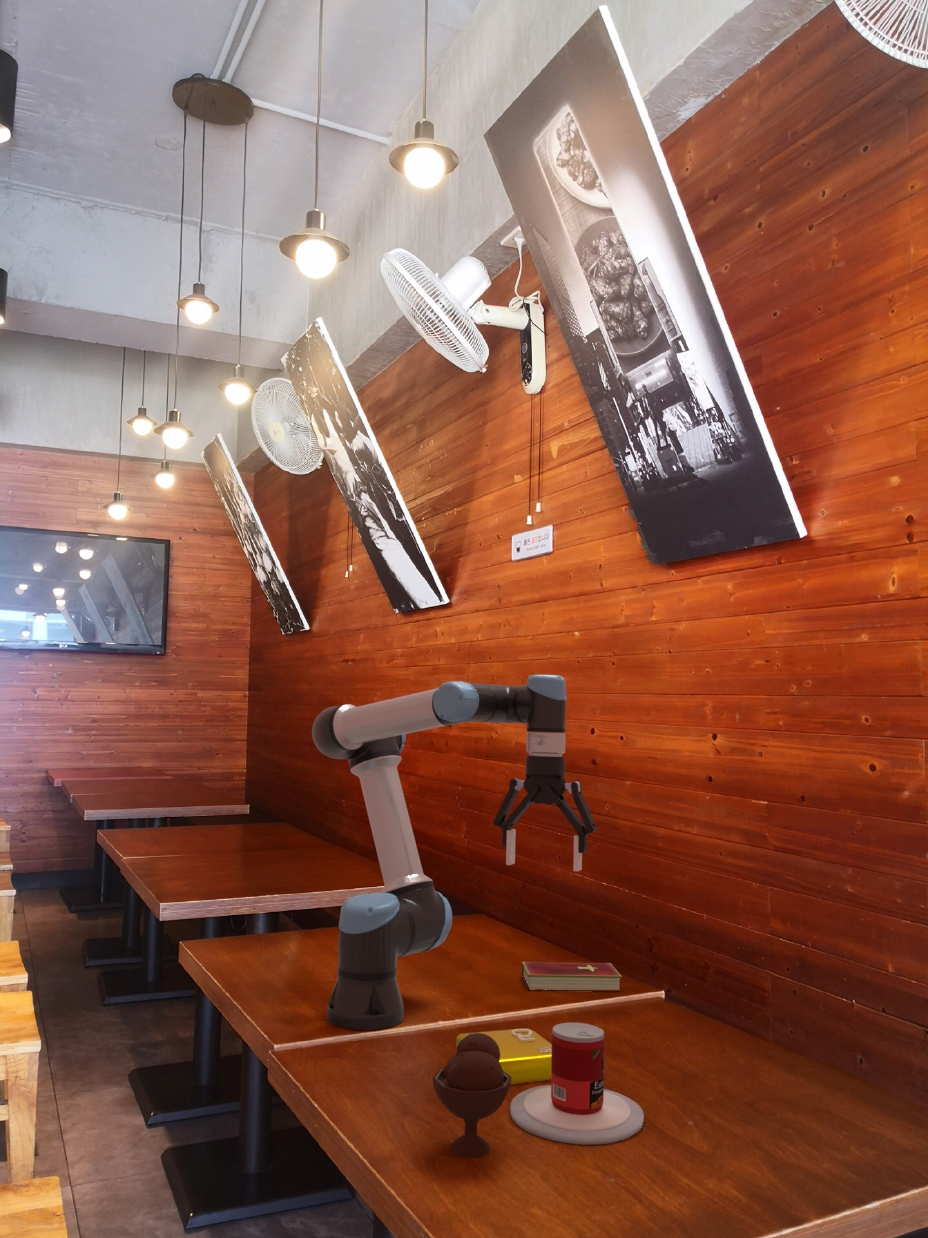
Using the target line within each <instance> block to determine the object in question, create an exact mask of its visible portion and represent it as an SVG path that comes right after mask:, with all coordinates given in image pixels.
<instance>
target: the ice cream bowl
mask: <svg viewBox="0 0 928 1238" xmlns="http://www.w3.org/2000/svg"><path fill="white" fill-rule="evenodd" d="M473 1033H474V1034H469V1035H468V1036H466V1037H465V1038H464V1039H462V1040H461V1041H460V1042H459V1044H458V1046H457V1048H456V1047H455V1053H454V1054H453V1055H452V1056H451V1057H449V1059H448V1060H447V1062H446V1064H445V1065H444V1067H442V1068H438V1069H437V1070H436V1072H435V1074H434V1075H433V1076H432V1084H433V1089H434V1091H435V1094H436V1097H437V1098H438V1100H439V1101H440V1102H441V1103H442V1105H444V1107H445V1108H446V1109H447V1110H448V1111H449V1112H450V1114H452V1115H454V1116H455V1117H456V1118H460V1119H463V1122H464V1134H463V1135H461V1136H459V1137H457V1138H455V1139H454V1140H453V1141H452V1144H451V1146H450V1150H451V1151H452V1152H453V1153H454V1155H458V1156H461V1157H464V1158H481V1157H483V1156H486V1155H488V1154H489V1153H490V1150H491V1145H490V1143H489V1142H488V1141H487V1140H485V1139H484V1138H483V1137H482V1136H479V1135H478V1123H479V1120H481V1119H485V1118H488V1117H489V1116H491V1115H493V1114H494V1113H495V1112H496V1111H497V1110H499V1109H500V1108H501V1107H502V1105H503V1103H504V1101H505V1099H506V1097H507V1095H508V1093H509V1090H510V1088H511V1085H512V1084H511V1079H512V1077H511V1076H509V1075H508V1074H507V1073H506V1072H504V1071H503V1069H502V1067H501V1065H500V1063H499V1060H500V1049H499V1047H498V1045H497V1043H496V1042H495V1041H494V1040H493V1039H492V1038H491V1037H490V1036H488V1035H486V1034H482V1033H476V1032H473ZM456 1051H457V1052H456ZM510 1084H511V1085H510Z"/></svg>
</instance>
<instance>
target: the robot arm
mask: <svg viewBox="0 0 928 1238" xmlns="http://www.w3.org/2000/svg"><path fill="white" fill-rule="evenodd" d="M566 683H567V682H566V680H565V677H563V676H561V675H557V674H531V675H528V678H527V682H526V684H525V685H511V684H510V685H506V684H505V685H504V684H503V685H502V684H494V683H493V684H492V683H480V682H479V683H478V682H477V683H476V682H467V681H463V680H457V681H456V680H455V681H447V682H446V681H445V682H443V683H442V684H441V685H440V686H439V687H438V688H433V689H429V690H425V691H420V692H415V693H411V694H407V695H402V696H399V697H394V698H390V699H385V700H381V701H377V702H373V703H372V702H371V703H368V704H364V705H359V706H356V705H353V704H350V703H349V704H343V705H335V706H330V707H328V708H325V709H324V710H322V711H321V712H320V713H319V714H318V715H317V716H316V718H315V719H314V721H313V724H312V728H311V729H312V730H311V736H312V740H313V743H314V745H315V747H316V748H317V750H318V751H319V752H320V753H321V754H323V755H324V756H327V757H328V758H331V759H335V760H347V761H348V765H349V769H350V773H351V774H353V775H354V776H356V777H358V779H359V782H360V786H361V791H362V795H363V800H364V803H365V807H366V811H367V816H368V821H369V824H370V828H371V833H372V837H373V842H374V846H375V850H376V854H377V858H378V864H379V867H380V871H381V875H382V880H383V883H384V886H383V887H382V889H381V891H380V892H377V891H376V892H372V893H362V894H357V895H353V896H352V897H349V898H348V899H346V900H345V901H344V902H343V903H342V905H341V908H340V913H339V914H340V915H339V921H338V957H337V959H338V961H337V962H338V963H337V979H336V982H335V984H334V986H333V989H332V992H331V995H330V999H329V1002H328V1004H327V1007H326V1008H327V1011H326V1014H327V1015H326V1019H327V1021H328V1023H330V1024H331V1025H334V1026H336V1027H340V1028H344V1029H348V1030H349V1029H351V1030H358V1031H359V1030H365V1031H368V1030H380V1029H386V1028H387V1029H388V1028H391V1027H394V1026H397V1025H399V1024H401V1023H402V1022H403V1021H404V1016H405V1006H404V1002H403V999H402V995H401V992H400V988H399V984H398V979H397V968H398V967H397V964H398V963H397V962H398V961H397V960H398V958H401V957H406V956H409V955H413V954H417V953H425V952H427V951H430V950H433V949H434V948H437V947H439V946H441V945H442V944H443V943H444V942H445V940H446V939H447V937H448V935H449V933H450V931H451V928H452V923H453V911H452V906H451V905H450V903H449V900H448V899H447V898H446V897H445V896H443V894H442V893H440V892H439V891H436V890H435V885H434V882H433V879H432V878H430V877H429V876H427V875H425V873H424V871H423V870H424V869H423V866H422V863H421V859H420V855H419V852H418V847H417V844H416V838H415V836H414V831H413V827H412V824H411V820H410V815H409V812H408V808H407V803H406V800H405V795H404V791H403V788H402V787H403V786H402V783H401V779H400V775H399V771H398V766H399V764H400V763H401V761H402V755H401V753H402V751H403V750H404V747H405V744H404V743H405V742H406V738H407V736H406V735H407V734H412V733H417V732H421V731H422V732H423V731H427V730H432V729H437V728H441V727H445V726H446V727H447V726H452V725H459V724H463V723H489V724H496V725H497V724H526V745H525V746H526V747H525V748H526V749H525V751H526V753H528V754H529V755H527V756H526V757H525V779H524V780H523V779H520V778H516V777H515V778H512V779H510V780H509V787H508V791H507V793H506V795H505V797H504V799H503V801H502V803H501V805H500V807H499V809H498V811H497V814H496V815H495V818H494V820H493V821H492V822H493V825H494V826H495V827H499V828H500V829H501V830H502V836H501V838H502V842H501V843H502V847H506V850H505V857H506V859H505V865H506V866H511V865H514V864H516V837H517V835H516V834H517V833H516V832H517V831H516V829H514V828H513V826H515V824H516V823H517V822H518V820H519V819H521V817H522V816H523V814H525V812H526V811H528V808H529V807H531V805H532V804H533V803H534V804H538V805H539V804H545V805H555V806H556V807H557V808H558V809H559V810H560V811H561V813H562V814H563V815H564V817H565V818H566V820H567V821H568V822H569V824H570V825H571V826H572V828H573V829H574V831H576V833H577V834H576V835H573V867H572V868H573V872H579V871H582V870H583V868H582V867H583V854H585V853H587V851H588V835H589V834H591V833H595V832H597V830H598V827H597V824H596V822H595V819H594V818H593V816H592V813H591V811H590V808H589V806H588V804H587V802H586V800H585V797H584V796H583V793H582V784H581V782H580V781H572V782H566V779H565V776H566V774H565V773H566V759H565V757H564V756H563V754H565V753H566V709H567V707H566V706H567V699H568V697H567V690H566V689H567V688H566ZM523 788H524V790H525V792H526V793H527V794H526V795H525V796H524V797H523V798H522V799H521V801H520V803H519V804H518V805H517V806H516V808H515V809H514V810H513V811H511V814H510V815H509V812H510V810H511V809H512V806H513V804H514V803H515V800H516V799H517V797H518V794H519V791H521V790H522V789H523ZM566 790H567V791H568V792H569V794H571V796H572V799H573V801H574V803H575V806H576V808H577V811H578V813H579V815H580V817H581V819H580V817H579V816H578V815H577V813H576V812H575V811H574V810H573V808H572V807H571V805H570V804H569V803H568V800H567V798H566V797H565V796H564V795H563V794H565V791H566ZM508 815H509V816H508ZM582 821H583V822H582Z"/></svg>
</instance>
